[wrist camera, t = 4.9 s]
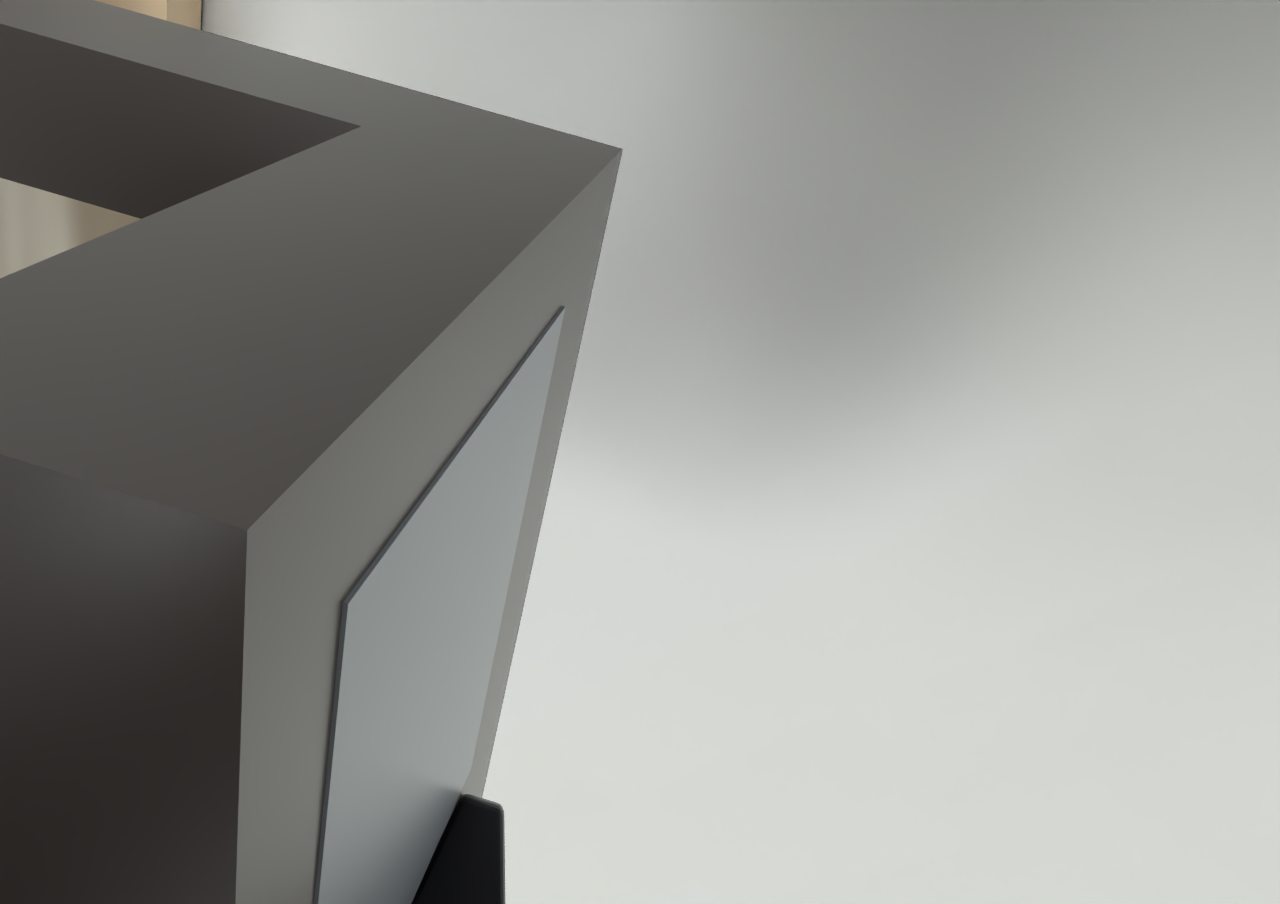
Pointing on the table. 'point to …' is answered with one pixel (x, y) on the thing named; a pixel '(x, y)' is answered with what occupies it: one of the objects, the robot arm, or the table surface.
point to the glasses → (267, 459)
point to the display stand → (50, 223)
